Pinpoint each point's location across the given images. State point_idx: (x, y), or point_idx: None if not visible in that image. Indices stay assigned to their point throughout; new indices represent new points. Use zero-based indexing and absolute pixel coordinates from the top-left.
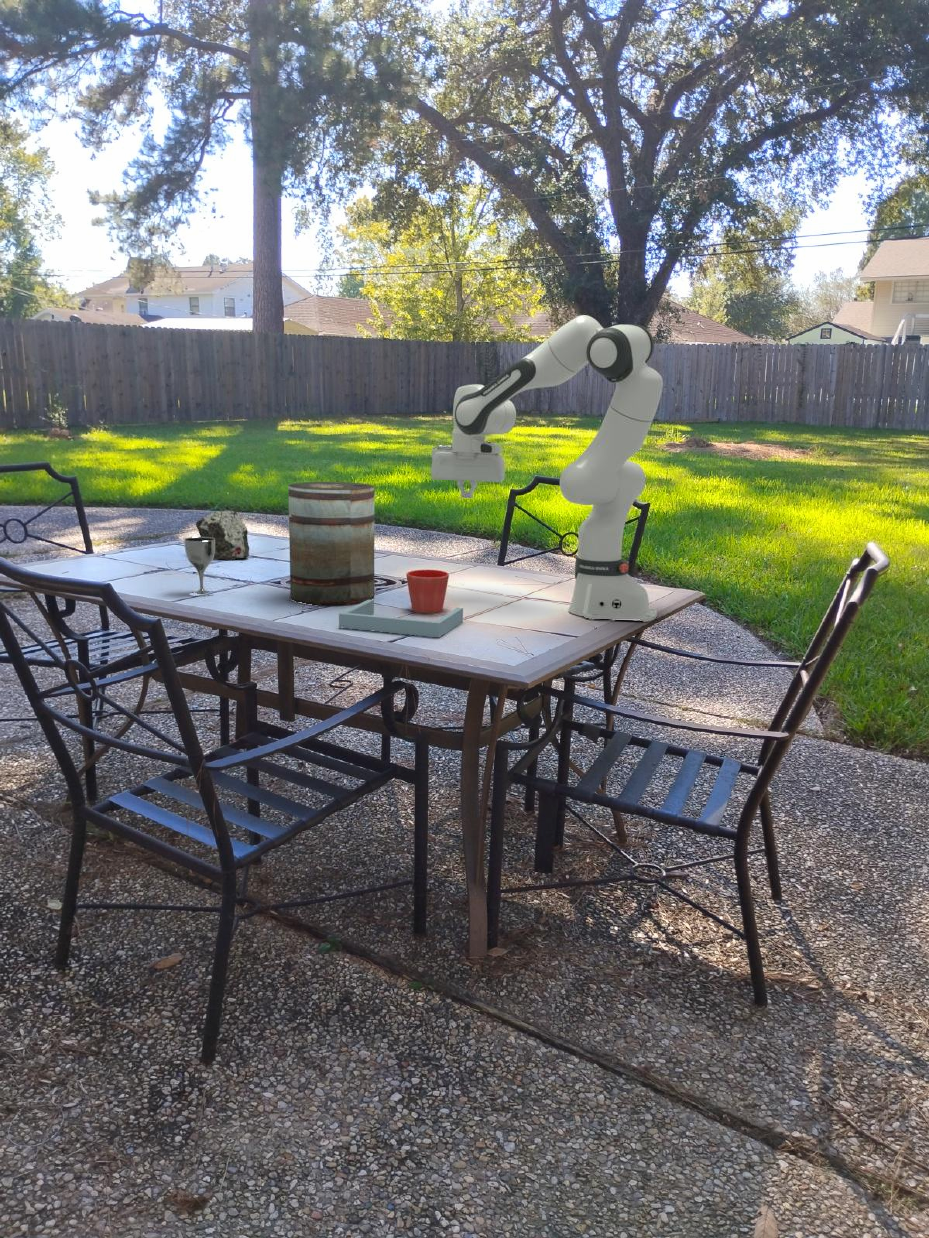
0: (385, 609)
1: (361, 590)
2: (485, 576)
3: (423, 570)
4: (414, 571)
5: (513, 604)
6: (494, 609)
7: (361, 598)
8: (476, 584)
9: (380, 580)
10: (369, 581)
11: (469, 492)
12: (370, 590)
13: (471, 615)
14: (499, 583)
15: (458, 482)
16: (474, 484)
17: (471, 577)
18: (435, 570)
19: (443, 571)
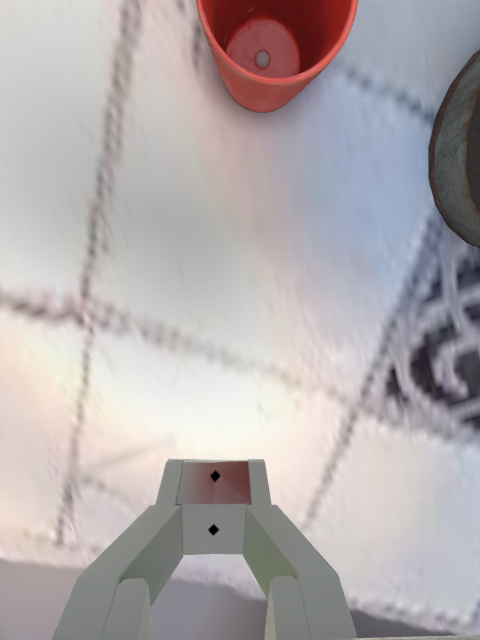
0: (372, 35)
1: (475, 72)
2: None
3: (310, 68)
4: (338, 38)
5: (79, 230)
6: (101, 149)
7: (458, 83)
8: (231, 418)
9: (449, 383)
10: (473, 108)
11: (174, 495)
12: (450, 126)
13: (132, 43)
14: (186, 445)
15: (329, 611)
16: (79, 594)
17: None
18: (266, 77)
19: (232, 61)
